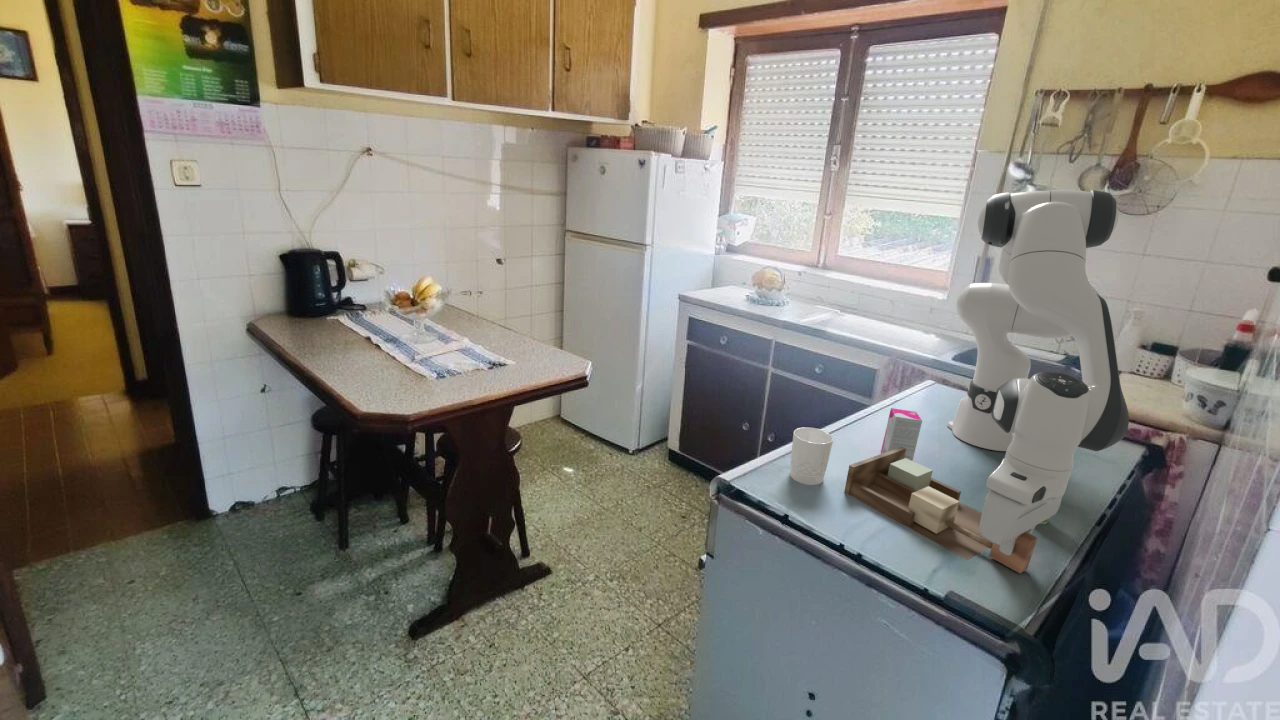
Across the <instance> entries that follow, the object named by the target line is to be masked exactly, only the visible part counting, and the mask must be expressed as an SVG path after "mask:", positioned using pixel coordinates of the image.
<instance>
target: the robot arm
mask: <svg viewBox="0 0 1280 720" xmlns="http://www.w3.org/2000/svg"><path fill="white" fill-rule="evenodd" d="M1118 208H1119V207H1118V205H1117V199H1116V197H1114V196H1113V195H1112V194H1111V193H1110V192H1107V191H1102V190H1095V189H1090V190H1089V191H1088V190H1087V191H1085V190H1076V189H1049V190H1032V191H1030V190H1029V191H1021V192H1020V191H1019V192H1014V193H1011V192H1009V191H1007V192H1001V193H997V194H996V193H995V194H993V195H991V196H990V197H989V198H988V199H987V200H986V201H985V204H984V205H983V206H982V208H981V211H980V212H979V214H978V215H979V216H978V220H977V221H978V222H977V227H978V232H979V234H980V236H981V238H980V239H981V240H982V241H983V243H985V244H987V245H988V246H992V247H996V248H1000V249H1001V254H1000V259H999V264H998V271H999V274H1000V276H1001V278H1002V281H1004V283H998V282H973V283H970V284H968V285H967V286H966V287H964V289H963V290H961V292H960V293H959V295H958V298H957V301H956V311H957V314H958V316H959V318H960V320H961V321H962V322H963V323H964V324H965V325H966V326H967V327H968V328H969V330H970V331H971V333H972V334H973V336H974V337H973V338H975V342H976V347H977V357H976V362H975V363H976V364H975V369H974V374H973V379H971V381H970V382H969V384H968V388H967V396H965V397H963V398H961V399H960V401H959V404H958V406H957V410H956V412H955V416H954V419H953V420H950V421H948V422H947V424H946V426H947V427H948V428H949V429H950V430H951V432H952V434H953V435H954V436H955V437H956V438H957V439H959V440H961V441H963V442H965V443H967V444H969V445H972V446H975V447H978V448H982V449H985V450H989V451H990V450H992V451H996V452H997V451H999V452H1005V456H1004V458H1003V459H1002V460H1001V462H1000V464H999V466H998V467H997V468H996V469H995V470H994V471H993V472H992V473H991V474H990V475H989V476H988V477H987V480H986V482H985V483H986V485H985V486H986V488H987V489H988V490H989V491H988V493H987V494H986V497H985V499H984V503H983V507H982V511H981V513H982V515H981V520H980V526H979V530H980V534H981V535H982V536H983V537H984V538H986V539H988V540H990V541H992V542H994V543H996V544H998V545H1000V548H999V550H1000V551H1001V552H1002V553H1004V554H1006V555H1011V554H1012V553H1014V552H1015V549H1016V546H1017V545H1016V544H1015V539H1016V538H1017V537H1018V536H1019V535H1021V534H1023V533H1024V532H1027V533H1029V534H1031V535H1032V533H1033V531H1034V530H1035V528H1036V526H1037V525H1039V524H1040V523H1041V522H1043V521H1044V520H1046V519H1048V518H1049V519H1050V518H1051V517H1053V516H1055V515H1056V514H1057V512H1058V511H1059V509H1060V507H1061V504H1062V499H1063V496H1064V495H1065V493H1066V490H1067V486H1068V483H1069V480H1070V478H1071V474H1072V470H1073V468H1074V455H1075V451H1076V449H1077V448H1081V449H1086V450H1089V451H1092V452H1093V451H1094V452H1099V451H1103V450H1105V449H1108V448H1110V447H1112V446H1114V445H1116V444H1117V443H1119V442H1120V441H1121V440H1123V439H1124V438H1125V437H1126V435H1127V432H1128V428H1129V423H1130V418H1129V416H1130V415H1129V409H1128V406H1127V403H1126V399H1125V396H1124V393H1123V391H1122V387H1121V380H1120V372H1119V364H1118V359H1117V358H1118V357H1117V352H1116V345H1115V336H1114V331H1113V325H1112V319H1111V315H1110V310H1109V307H1108V303H1107V301H1106V299H1105V298H1104V297H1102V296H1100V295H1099V294H1097V293H1096V292H1095V290H1094V289H1093V287H1092V286H1091V283H1090V281H1089V279H1088V276H1087V271H1086V259H1087V249H1089V248H1094V247H1099V246H1102V245H1103V244H1104V243H1106V242H1107V241H1109V239H1110V238H1111V236H1112V234H1113V232H1114V231H1115V229H1116V227H1117V224H1118V221H1119V209H1118ZM1008 334H1017V335H1023V336H1030V337H1034V338H1040V339H1069V338H1071V337H1072V338H1073V339H1074V341H1075V342H1076V344H1077V347H1078V348H1077V349H1078V355H1079V361H1080V362H1079V363H1080V372H1081V378H1082V379H1079V378H1076V377H1074V376H1072V375H1069V374H1066V373H1062V372H1056V371H1041V372H1037V373H1035V374H1033V375H1032V376H1031V377H1030V378H1029V374H1030V370H1031V367H1032V366H1031V365H1032V363H1031V359H1030V357H1029V355H1027V354H1026V352H1025V351H1023V350H1021V349H1020V348H1019V347H1018V346H1015V345H1014V344H1013V343H1012V342H1011V341H1010V340H1009V338H1008Z"/></svg>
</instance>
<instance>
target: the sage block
mask: <svg viewBox="0 0 1280 720" xmlns="http://www.w3.org/2000/svg"><path fill="white" fill-rule="evenodd" d="M933 472H934V470H933V469H932V468H930V467H929V468H928V467H927V466H924V465H922V464H921V463H918V462H916V461H914V460H913V461H911V460H909V459H907V458H904V459H902V460H899V461H896V462H894V463H891V464H890V466H889V471H888V477H890V478H892V479H894V480H896V481H898V482H900V483H902V484H904V485H906V486H908V487H910V488H912V489H914V490H916V491H918V490H921V489H923V488H925V487H928V486H929V484H930V480H931V478H932V475H933Z"/></svg>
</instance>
